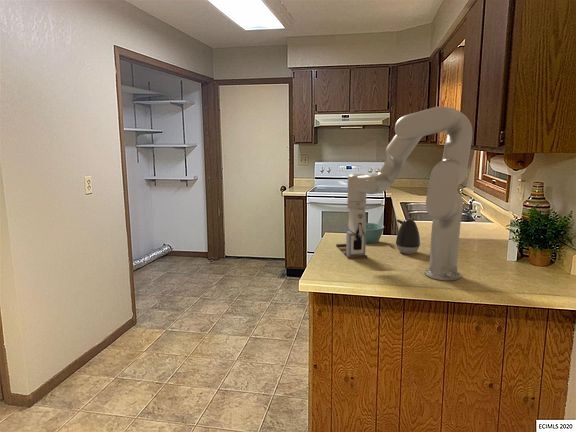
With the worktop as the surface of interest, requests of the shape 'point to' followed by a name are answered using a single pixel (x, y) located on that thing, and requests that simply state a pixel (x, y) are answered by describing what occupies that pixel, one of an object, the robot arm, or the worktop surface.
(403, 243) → the pump dispenser
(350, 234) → the picture frame
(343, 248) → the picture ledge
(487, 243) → the worktop surface
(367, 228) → the bowl
